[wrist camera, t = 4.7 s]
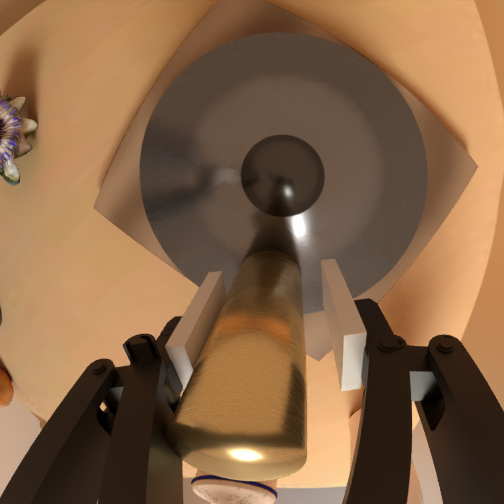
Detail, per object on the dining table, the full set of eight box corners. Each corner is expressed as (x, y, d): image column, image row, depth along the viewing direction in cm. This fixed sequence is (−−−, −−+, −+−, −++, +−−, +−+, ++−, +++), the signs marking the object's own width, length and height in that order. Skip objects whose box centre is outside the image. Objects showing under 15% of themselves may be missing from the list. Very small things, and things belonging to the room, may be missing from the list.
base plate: (103, 204, 21) (93, 207, 19) (234, -3, 14) (230, -12, 12) (317, 349, 22) (318, 361, 21) (467, 165, 16) (478, 166, 14)
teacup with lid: (199, 413, 28) (168, 495, 17) (277, 413, 26) (266, 508, 15) (226, 459, 31) (209, 525, 20) (289, 460, 30) (283, 531, 19)
